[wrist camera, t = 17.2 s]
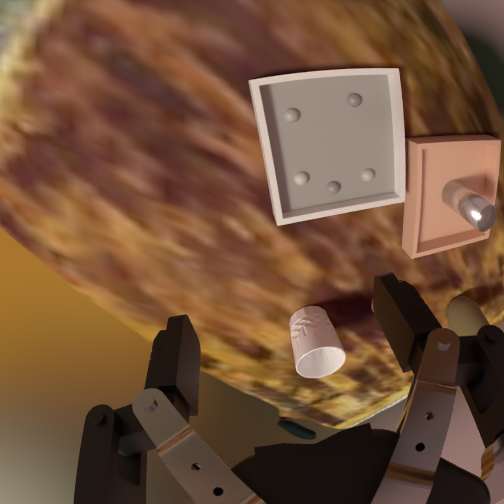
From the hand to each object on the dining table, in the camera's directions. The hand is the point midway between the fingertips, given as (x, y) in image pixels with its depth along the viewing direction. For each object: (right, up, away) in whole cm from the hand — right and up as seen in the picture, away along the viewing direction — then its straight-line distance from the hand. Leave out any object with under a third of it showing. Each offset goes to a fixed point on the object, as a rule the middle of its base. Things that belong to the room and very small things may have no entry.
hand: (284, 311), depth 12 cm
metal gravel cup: (+30, +12, +27) cm, 42 cm away
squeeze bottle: (+43, -9, +43) cm, 61 cm away
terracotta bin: (+30, +13, +28) cm, 43 cm away
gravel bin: (+9, +17, +23) cm, 30 cm away
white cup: (+8, -9, +40) cm, 42 cm away
